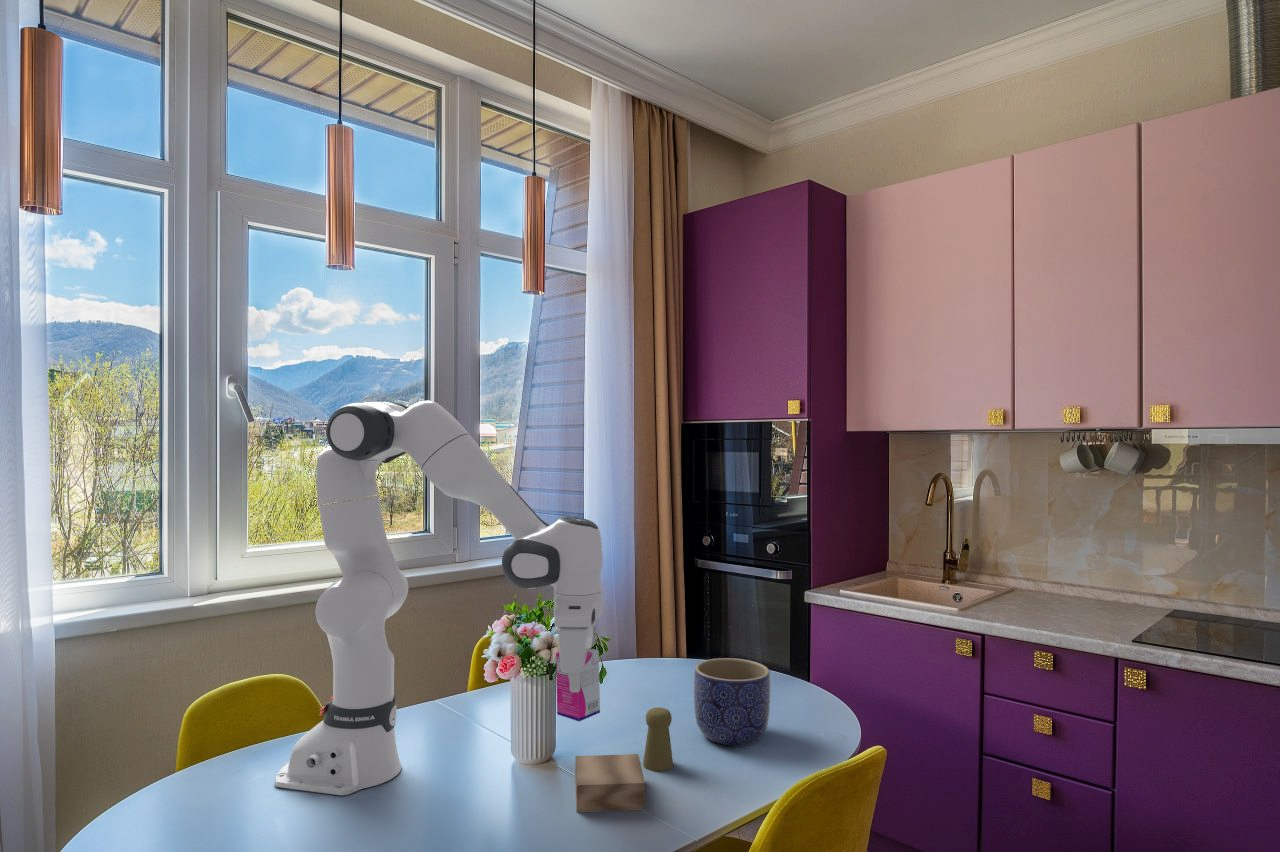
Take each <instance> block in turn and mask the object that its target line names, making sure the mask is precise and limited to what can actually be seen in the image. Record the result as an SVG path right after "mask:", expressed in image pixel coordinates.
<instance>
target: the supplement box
mask: <svg viewBox="0 0 1280 852" xmlns="http://www.w3.org/2000/svg"><path fill="white" fill-rule="evenodd" d="M599 654H600V651H599V649H594V648H591V647H590V648H589V650H588V653H587V659H586V662H585V665H584V668H583V671H582V672H581V675H580V680H581V688H580V691H579V692H570V682H569V677H568V673H564V672H562V669H561V664H560V654H559V651H556V652H555V662H556V663H555V666H556V669H555V670H556V672H555V674H556V675H555V676H556V677H555V678H556V715H558V716H561V717H564V718H568V719H570V720H573V721H576V722H583V721H584V720H587V719H588V718H590V717H592V716H596V715H597V714H600V713H601V702H600V700H601V695H600V689H601V688H600V655H599Z"/></svg>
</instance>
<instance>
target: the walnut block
mask: <svg viewBox="0 0 1280 852" xmlns="http://www.w3.org/2000/svg"><path fill="white" fill-rule="evenodd" d="M574 757H575V760H574V761H575V763H574V764H575V765H574V766H575V768H574V771H575V772H574V786H575V787H574V788H575V805H576V807H575V809H576V810H575V811H576V813H587V812H589V813H591V812H612V811H613V812H615V811H637V810H646V781H645V777H644V773H643V768H642V763H641V761H640V756H639V754H637V753H634V754H632V753H631V754H603V755H601V754H597V755H575V756H574Z"/></svg>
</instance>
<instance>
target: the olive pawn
mask: <svg viewBox="0 0 1280 852" xmlns="http://www.w3.org/2000/svg"><path fill="white" fill-rule="evenodd" d="M672 719H673V716H672V713H671V712H670V710H668V709H667V708H664V707H652V708H650V709H648V711H647V712H646V714H645V722H646V725H647V733H646V738H645V739H646V740H645V748H644V755H643V762H642V765H643V767H644V769H646V770H649V771H652V772H666V771H670V770H671V769H672V768H673V767H674V763H673V762H674V760H673V753H672V752H673V751H672V744H671V735H670V726H671V724H672Z"/></svg>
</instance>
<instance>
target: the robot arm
mask: <svg viewBox="0 0 1280 852" xmlns="http://www.w3.org/2000/svg"><path fill="white" fill-rule="evenodd" d="M325 433H326V434H325V435H326V440H327V443H328V447H326V448H325V449H323V450H322V451H321V452H320V454H318V456H317V459H316V470H315V473H316V474H315V479H316V480H315V481H316V482H315V483H316V496H317V502H318V503H317V504H318V510H319V516H320V522H321V528H322V533H323V534H322V535H323V540H324V545H325V547H326V549H327V550H328V551H330V552H331V554H332V555H333V557H334V558H335V560H336V562H337V564H338V567H339V569H340V571H341V575H342V577H341V578H339V579H337V580H335V581H334V582H333V583H331V584H330V585H329V586H328V587H327V588H326V590H325V591H324V592H322V593H321V595H320V596H319V598H318V600H317V601H316V606H315V619H316V622H317V624H318V626H319V628H320V629H321V630H322V631H323V632H324V633H325V634H326V637H327V639H328V640H327V641H328V644H329V648H330V652H331V658H332V668H333V670H332V673H333V674H332V675H333V677H332V679H333V681H332V682H333V683H332V686H333V687H332V688H333V689H332V693H333V694H332V696H331V697H330V698H329V700H328V701H327V702H325V704H323V706H322V708H320V709H319V712H320V713H319V717H321V716H323V720H321V721H320V722H318V723H317V724H316V725H315V726H313V728H311V729H310V730H309V731H308V732H306V733H305V734H304V735H302V736H301V737H300V738H299V739H298V740H297V742H295V744H294V745H293V747H292V750H291V753H290V756H289V761H288V762H287V763H285V765H283V766H282V768H280V769H279V771H278V772H277V774H276V775H275V779H274V780H275V781H274V786H275V787H276V788H281V789H290V790H295V791H296V790H297V791H303V792H305V791H306V792H312V793H313V792H314V793H320V794H328V795H336V796H348V795H350V794H352V793H356V792H358V791H360V790H363V789H367V788H372V787H374V786H378V785H381V784H384V783H387V782H388V781H390V780H392V779H393V778H395V777H396V776H398V774H399V773H400V772H401V770H402V763H401V760H400V757H399V751H398V748H397V747H398V746H397V740H396V734H395V733H396V731H395V726H396V722H397V698H396V697H397V696H396V695H395V694H394V691H395V690H394V687H395V685H394V684H395V656H394V654H393V652H392V651H391V649H390V648H389V644H388V640H387V636H386V630H385V625H386V620H387V619H389V618H390V617H393V615H394V614H396V613H397V612H398V611H399V610H400V609H401V607H402V606H403V604H404V603H405V601H406V599H407V596H408V594H409V583H408V578H407V577H406V575H405V574H404V572H403V571H402V570H401V569H400V568H399V566H398V563H397V561H396V559H395V555H394V553H393V550H392V548H391V546H390V543H389V541H388V537H387V533H386V529H385V525H384V518H383V513H382V508H381V500H380V495H379V489H378V485H377V477H376V476H377V474H376V473H377V469H378V467H379V465H380V464H381V463H383V464H388V463H390V462H392V461H394V460H396V459H397V458H399V457H401V456H404V455H406V454H407V455H409V457H411V458H412V459H413V461H414V462H415V464H417V466H418V467H419V469H420V470H421V471H422V472H423V474H424V475H425V476H426V478H427V479H428V480H429V481H430V482H431V484H432V485H434V486H435V487H436V488H437V489H438V490H439V491H441V492H442V493H443V494H444V495H445V496H448V497H449V498H453V499H458V500H461V501H466V502H470V503H472V504H476V505H478V506H480V507H482V508H484V509H486V510H487V511H488V512H489V513H491V515H493V516H494V518H496V520H497V521H498V522H499V523H500V524H501V526H503V528H504V529H505V530H506V531H507V532H508V534H510V536H511V537H512V538H513V539H514V541H512V542H510V544H508V545H507V546H506V548H505V550H504V552H503V554H502V557H501V568H502V572H503V574H504V576H505V578H506V579H507V581H508V582H509V583H511V585H513V586H515V587H516V588H519V589H524V590H525V589H527V590H531V589H532V590H533V589H537V588H541V587H546V586H552V587H553V604H554V605H553V617H554V627H555V628H558V629H557V635H558V636H557V637H558V652H559V654H560V664H561V669H562V672H564V673H568V677H569V682H570V692H579V691H580V688H581V680H580V675H581V672H582V671H583V668H584V665H585V662H586V659H587V653H588V650H589V648H590V649H591V647H592V644H593V640H594V627H595V626H596V623H597V622H596V621H597V620H599V619H600V618H601V617H602V616H603V586H602V581H601V574H602V570H603V545H602V536H601V531H600V528H599V527H598V525H597V524H596V523H595V522H594V521H592V520H590V519H587V518H582V517H579V516H561V517H560V518H558V519H557V520H556V521H555V522H553V523H552V524H548V523H547V522H546V521H545V520H543V519H542V518H541V517H540V516H539V515H538V514H537V513H536V512H535V510H533V508H532V507H531V506H530V505H529V504H528V503H527V502H526V501H525V499H524V498H522V497H521V496H520V494H519V493H518V492H517V491H516V489H514V488H513V486H511V484H510V483H509V482H508V481H507V480H506V479H505V478H504V477H503V475H502V474H501V473H500V471H499V470H498V469H497V468H496V466H495V465H494V464H493V463H492V462H491V460H490V459H489V457H488V456H487V455H486V453H485V452H484V451H483V450H482V449H481V447H480V446H479V444H478V443H477V441H476V440H475V439H474V438H473V437H472V435H471V434H470V433H469V432H468V431H467V430H466V429H465V427H464V426H463V425H462V424H461V423H460V422H459V421H458V420H457V419H456V418H455V417H454V416H453V415H452V414H451V413H450V412H449V411H448V410H446V409H445V408H444V407H443V406H442V405H441V404H439V403H438V402H436V401H432V400H421V401H419V402H416V403H414V404H412V405H410V406H407V405H405V404H402V403H398V402H387V401H370V402H363V403H362V402H354V403H349V404H347V405H343V406H342V407H339V408H338V409H336V410H335V411H334V412H333V413H332V414H331V415H330V417H329V418H328V421H327V424H326V429H325Z"/></svg>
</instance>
